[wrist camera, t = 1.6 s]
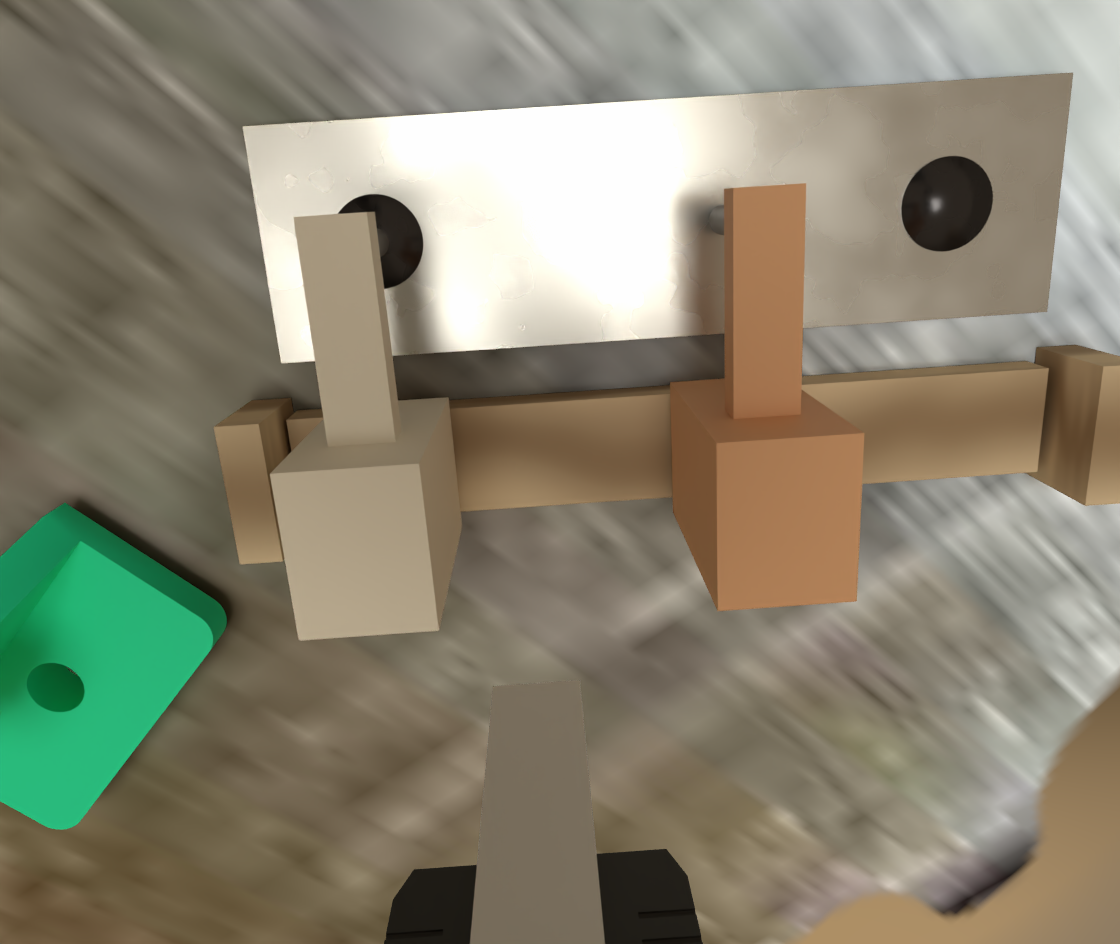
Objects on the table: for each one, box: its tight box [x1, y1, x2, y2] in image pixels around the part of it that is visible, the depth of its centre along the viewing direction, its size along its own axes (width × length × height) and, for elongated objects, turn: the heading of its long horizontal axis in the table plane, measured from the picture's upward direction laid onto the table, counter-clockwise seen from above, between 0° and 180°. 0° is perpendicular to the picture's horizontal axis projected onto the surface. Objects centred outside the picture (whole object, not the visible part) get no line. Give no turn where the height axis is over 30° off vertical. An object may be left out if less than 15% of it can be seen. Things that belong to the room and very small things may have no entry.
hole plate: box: [243, 73, 1073, 363], centre depth 30 cm, size 8×28×1 cm, turn 94°
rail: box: [214, 345, 1120, 564], centre depth 31 cm, size 5×32×4 cm, turn 94°
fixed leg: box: [270, 212, 462, 640], centre depth 27 cm, size 12×4×8 cm, turn 4°
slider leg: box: [670, 183, 864, 611], centre depth 27 cm, size 12×4×8 cm, turn 4°
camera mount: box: [0, 503, 227, 829], centre depth 31 cm, size 12×8×10 cm, turn 141°
